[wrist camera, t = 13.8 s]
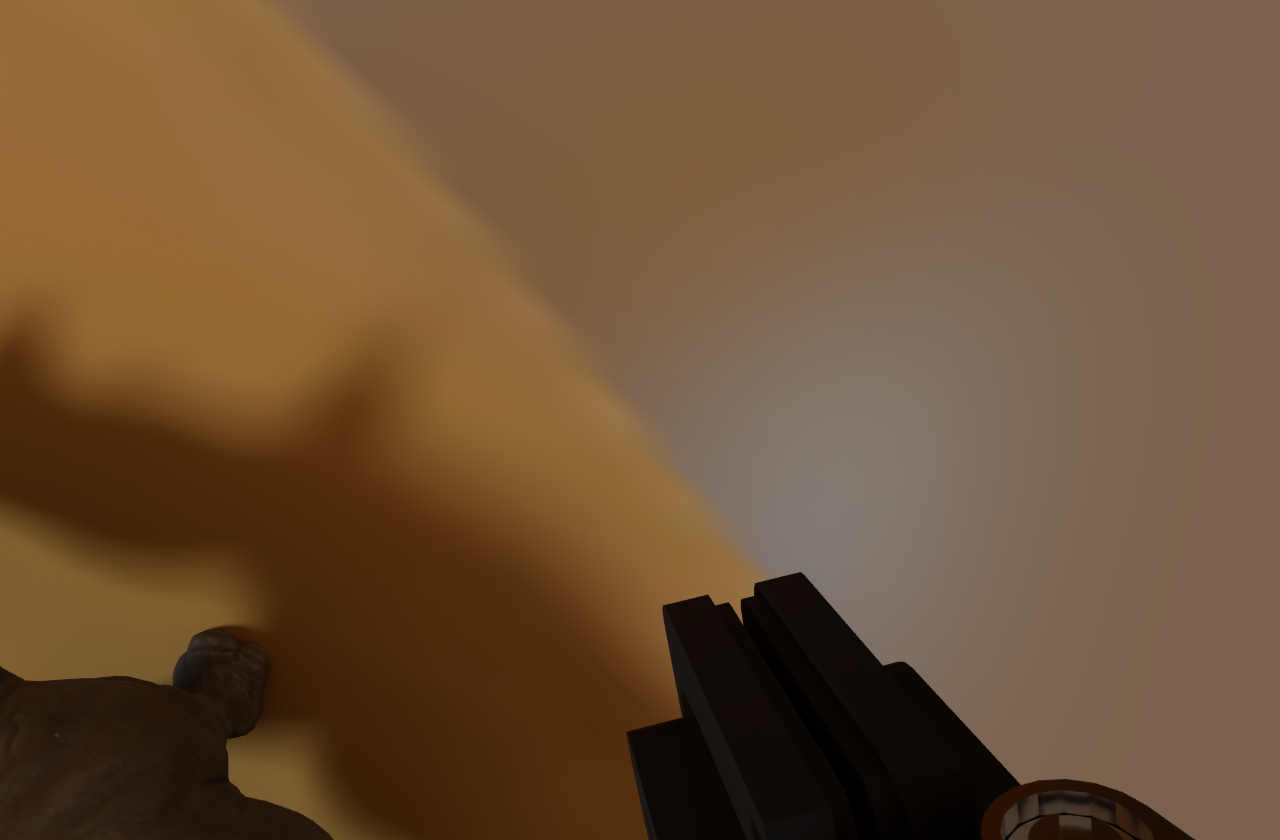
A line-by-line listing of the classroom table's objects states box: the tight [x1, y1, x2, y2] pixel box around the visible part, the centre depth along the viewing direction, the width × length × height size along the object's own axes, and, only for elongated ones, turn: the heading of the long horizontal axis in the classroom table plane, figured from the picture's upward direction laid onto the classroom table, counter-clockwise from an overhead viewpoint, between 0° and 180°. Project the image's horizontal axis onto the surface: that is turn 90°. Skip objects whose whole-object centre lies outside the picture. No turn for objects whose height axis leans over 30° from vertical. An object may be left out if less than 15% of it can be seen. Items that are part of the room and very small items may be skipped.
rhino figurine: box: [0, 630, 333, 840], centre depth 11 cm, size 4×14×6 cm, turn 36°
